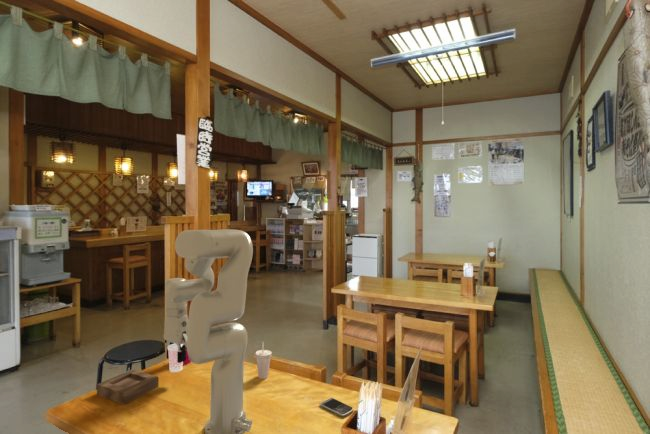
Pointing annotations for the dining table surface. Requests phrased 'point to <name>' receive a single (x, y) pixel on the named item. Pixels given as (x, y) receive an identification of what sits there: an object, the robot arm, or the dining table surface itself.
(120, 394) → the walnut tray
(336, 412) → the cell phone
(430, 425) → the dining table surface
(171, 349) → the beverage cup
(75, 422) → the dining table surface
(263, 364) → the smoothie
